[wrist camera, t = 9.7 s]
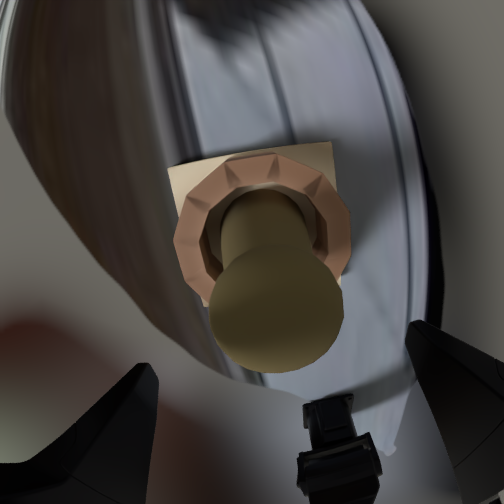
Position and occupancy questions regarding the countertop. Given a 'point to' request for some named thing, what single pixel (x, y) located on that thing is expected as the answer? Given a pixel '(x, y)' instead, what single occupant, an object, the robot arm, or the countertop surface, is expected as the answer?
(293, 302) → the cork
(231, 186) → the socket board
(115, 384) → the robot arm
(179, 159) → the countertop surface
